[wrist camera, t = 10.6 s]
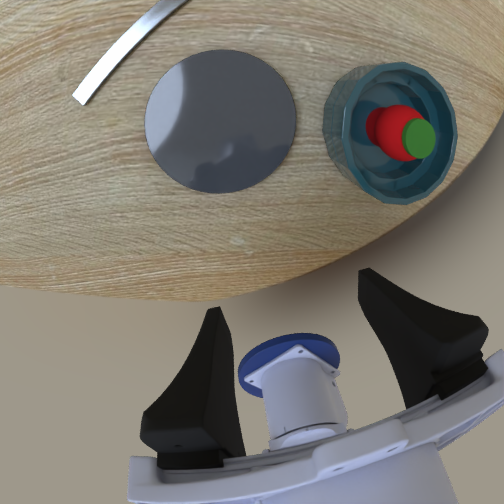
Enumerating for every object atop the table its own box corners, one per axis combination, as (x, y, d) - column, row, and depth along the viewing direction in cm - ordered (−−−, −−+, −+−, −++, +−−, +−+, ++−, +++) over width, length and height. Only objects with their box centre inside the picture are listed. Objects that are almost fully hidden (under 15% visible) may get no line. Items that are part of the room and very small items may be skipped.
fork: (87, 107, 16) (84, 107, 15) (72, 94, 15) (69, 94, 14) (274, -50, 11) (276, -53, 10) (257, -62, 10) (258, -65, 9)
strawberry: (410, 133, 19) (450, 147, 14) (378, 162, 20) (413, 181, 16) (386, 92, 17) (426, 96, 13) (350, 121, 18) (385, 130, 14)
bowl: (441, 142, 20) (471, 153, 16) (365, 209, 22) (389, 230, 19) (385, 44, 15) (416, 39, 12) (292, 114, 18) (309, 118, 14)
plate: (320, 126, 19) (325, 127, 18) (218, 215, 21) (219, 221, 20) (224, 25, 14) (224, 21, 13) (120, 126, 17) (115, 128, 16)
